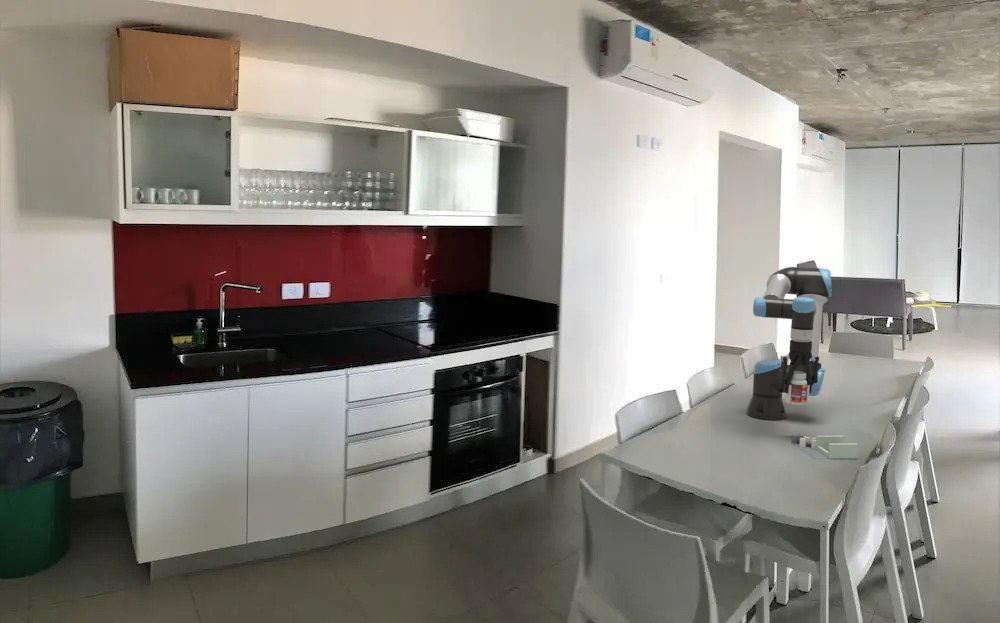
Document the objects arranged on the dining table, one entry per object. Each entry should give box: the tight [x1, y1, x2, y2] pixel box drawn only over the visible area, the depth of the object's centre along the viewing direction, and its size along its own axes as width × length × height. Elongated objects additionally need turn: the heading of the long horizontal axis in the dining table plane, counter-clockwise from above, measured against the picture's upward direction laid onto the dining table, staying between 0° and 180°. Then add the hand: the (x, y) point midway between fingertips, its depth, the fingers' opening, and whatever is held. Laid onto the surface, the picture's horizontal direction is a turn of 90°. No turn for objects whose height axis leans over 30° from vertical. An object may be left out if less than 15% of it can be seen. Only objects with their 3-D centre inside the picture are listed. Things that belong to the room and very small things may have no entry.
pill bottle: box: [790, 371, 807, 406], centre depth 269 cm, size 6×6×11 cm
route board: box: [791, 433, 858, 460], centre depth 258 cm, size 19×15×4 cm
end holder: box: [815, 435, 859, 460], centre depth 253 cm, size 10×10×5 cm
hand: (796, 401), depth 269 cm, fingers closed on pill bottle, 6 cm apart
